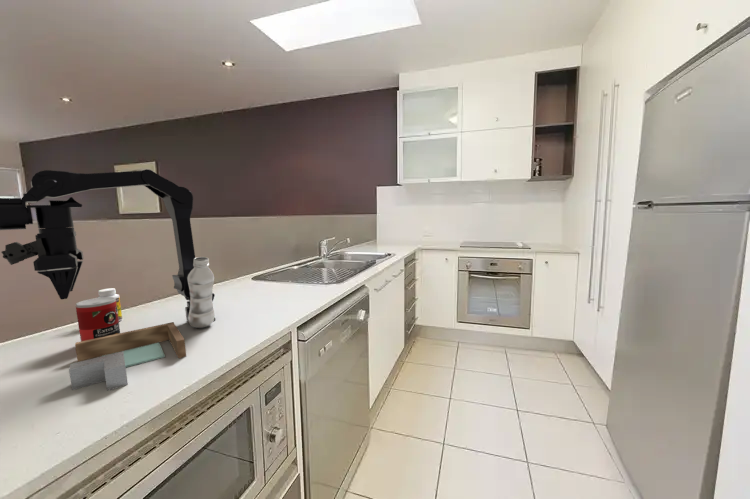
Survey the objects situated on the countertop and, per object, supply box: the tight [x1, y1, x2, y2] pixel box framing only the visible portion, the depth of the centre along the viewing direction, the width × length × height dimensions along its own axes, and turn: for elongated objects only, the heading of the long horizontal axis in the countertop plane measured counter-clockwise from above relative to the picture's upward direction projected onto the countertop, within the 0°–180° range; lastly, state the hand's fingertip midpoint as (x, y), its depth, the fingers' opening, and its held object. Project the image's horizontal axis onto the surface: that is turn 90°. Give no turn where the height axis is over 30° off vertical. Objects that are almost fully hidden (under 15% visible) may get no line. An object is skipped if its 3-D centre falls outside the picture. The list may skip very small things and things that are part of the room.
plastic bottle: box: [187, 256, 216, 329], centre depth 88 cm, size 6×7×20 cm
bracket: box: [68, 351, 129, 391], centre depth 60 cm, size 8×8×4 cm
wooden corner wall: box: [74, 321, 187, 362], centre depth 71 cm, size 19×16×4 cm
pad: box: [100, 342, 165, 368], centre depth 71 cm, size 11×10×1 cm
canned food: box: [75, 297, 121, 342], centre depth 80 cm, size 8×8×11 cm
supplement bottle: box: [96, 287, 123, 322], centre depth 96 cm, size 6×6×10 cm
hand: (66, 295), depth 73 cm, fingers open, 9 cm apart
